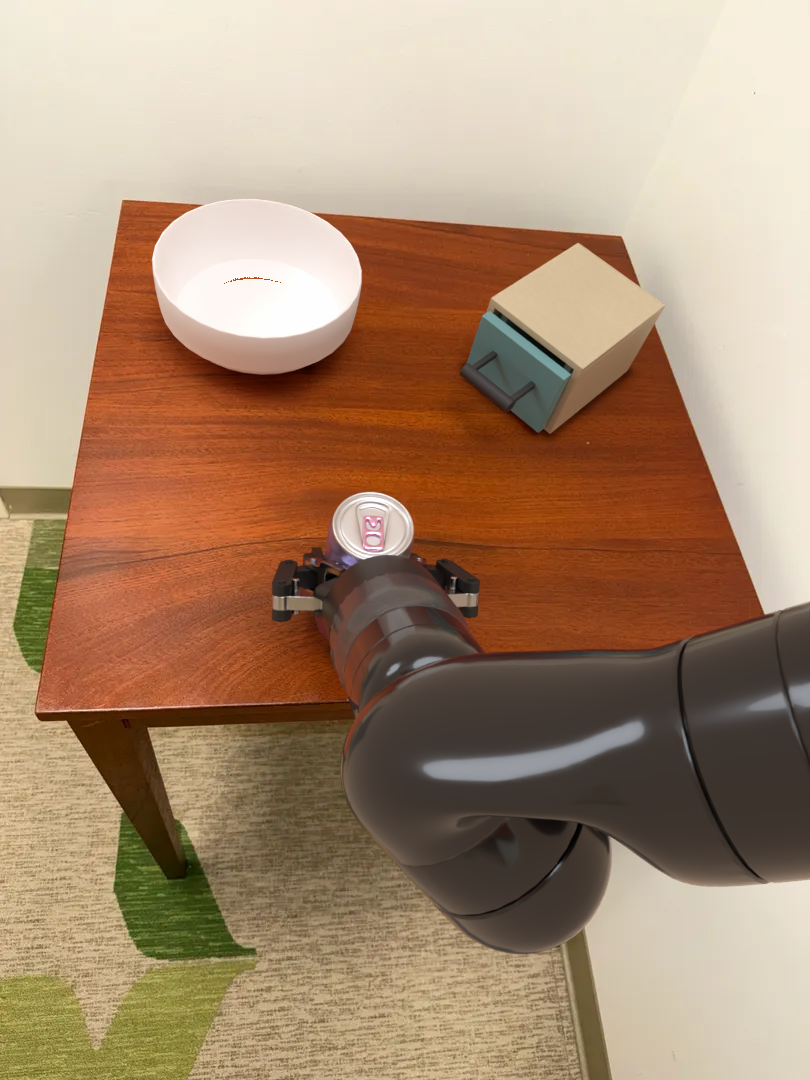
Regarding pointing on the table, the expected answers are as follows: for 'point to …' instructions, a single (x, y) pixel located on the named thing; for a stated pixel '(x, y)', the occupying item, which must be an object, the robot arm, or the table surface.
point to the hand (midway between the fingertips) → (358, 559)
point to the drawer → (515, 371)
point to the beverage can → (368, 531)
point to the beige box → (581, 321)
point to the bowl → (256, 285)
